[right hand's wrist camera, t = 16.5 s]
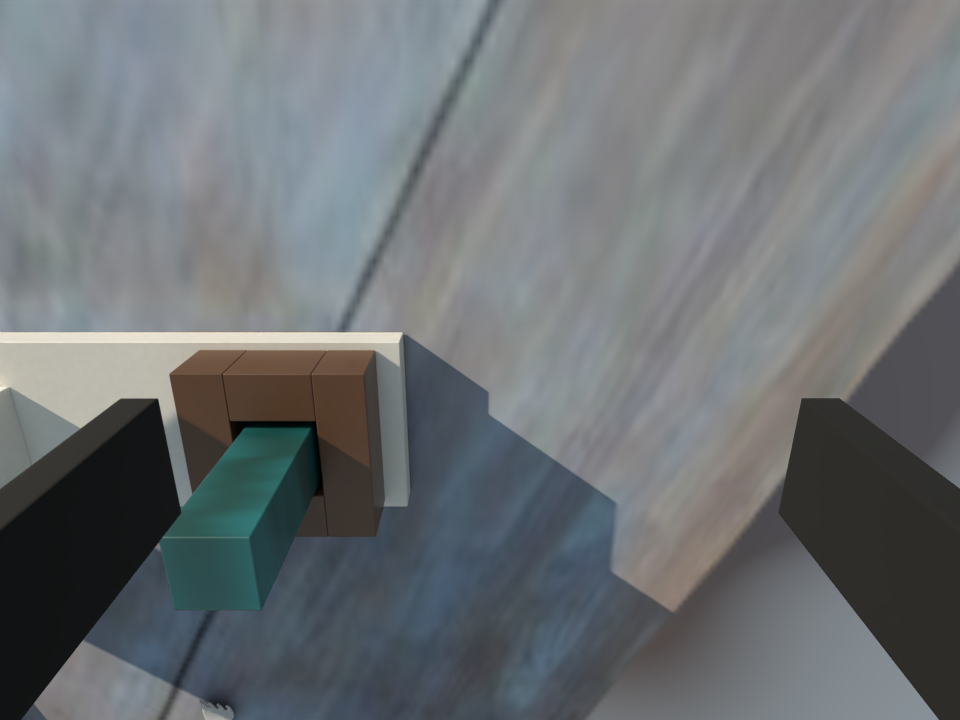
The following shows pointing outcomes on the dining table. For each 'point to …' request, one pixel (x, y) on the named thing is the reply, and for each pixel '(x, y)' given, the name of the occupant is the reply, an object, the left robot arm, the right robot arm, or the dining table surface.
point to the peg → (243, 518)
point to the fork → (216, 712)
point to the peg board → (143, 371)
